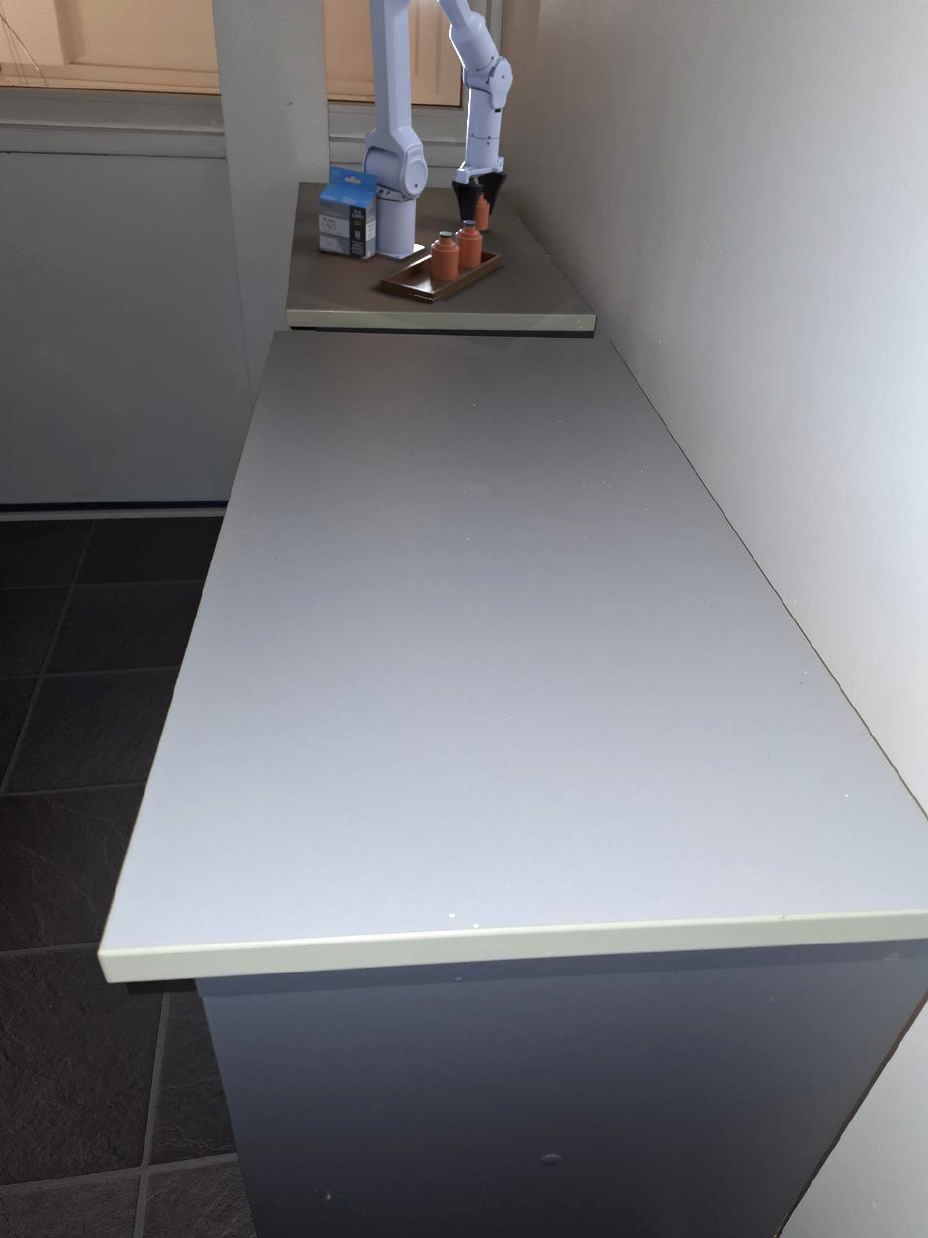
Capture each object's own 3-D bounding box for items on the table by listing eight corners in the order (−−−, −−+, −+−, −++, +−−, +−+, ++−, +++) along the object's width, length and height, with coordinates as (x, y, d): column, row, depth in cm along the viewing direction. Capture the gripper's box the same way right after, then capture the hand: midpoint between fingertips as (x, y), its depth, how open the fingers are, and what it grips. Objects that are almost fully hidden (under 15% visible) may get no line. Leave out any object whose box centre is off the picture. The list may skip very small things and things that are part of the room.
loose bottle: (459, 229, 158) (462, 191, 153) (470, 224, 161) (473, 186, 157) (480, 234, 156) (483, 196, 152) (491, 229, 159) (494, 191, 155)
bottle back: (449, 263, 141) (451, 222, 137) (461, 257, 144) (464, 216, 140) (472, 269, 140) (476, 227, 135) (484, 262, 143) (488, 221, 139)
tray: (432, 307, 127) (433, 293, 126) (380, 292, 130) (380, 279, 129) (501, 267, 143) (502, 254, 142) (453, 254, 146) (453, 242, 145)
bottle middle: (424, 276, 136) (426, 233, 131) (438, 269, 139) (440, 227, 134) (449, 283, 134) (451, 239, 130) (462, 275, 137) (465, 233, 133)
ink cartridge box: (318, 250, 142) (315, 169, 134) (330, 244, 145) (328, 164, 137) (365, 261, 140) (365, 179, 132) (376, 255, 143) (377, 174, 135)
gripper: (484, 146, 142) (477, 232, 151) (521, 133, 152) (513, 214, 161) (447, 138, 144) (443, 223, 153) (486, 126, 154) (479, 206, 163)
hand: (476, 218), depth 157 cm, fingers open, 7 cm apart
